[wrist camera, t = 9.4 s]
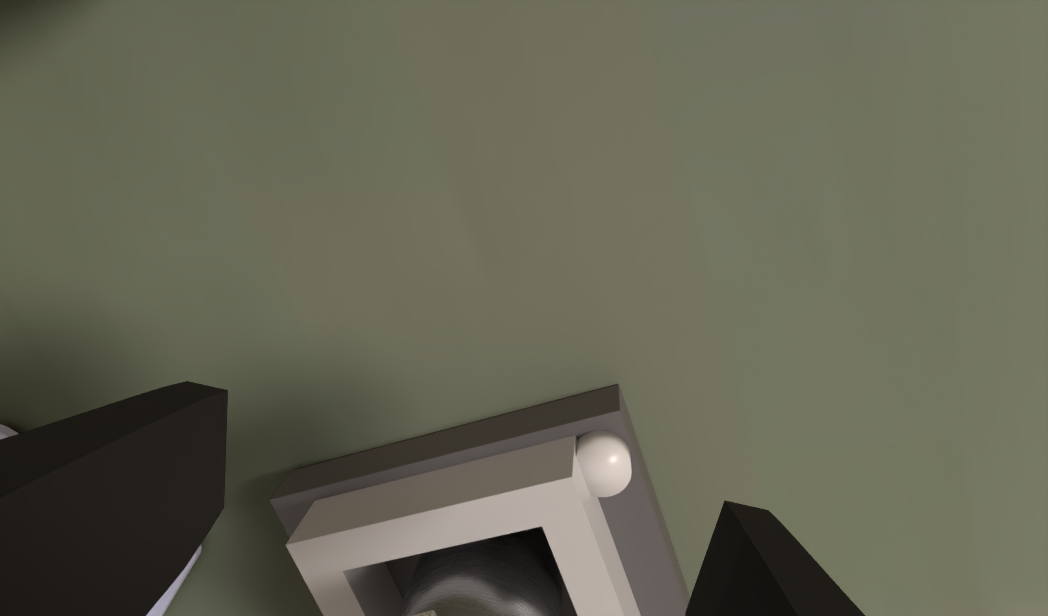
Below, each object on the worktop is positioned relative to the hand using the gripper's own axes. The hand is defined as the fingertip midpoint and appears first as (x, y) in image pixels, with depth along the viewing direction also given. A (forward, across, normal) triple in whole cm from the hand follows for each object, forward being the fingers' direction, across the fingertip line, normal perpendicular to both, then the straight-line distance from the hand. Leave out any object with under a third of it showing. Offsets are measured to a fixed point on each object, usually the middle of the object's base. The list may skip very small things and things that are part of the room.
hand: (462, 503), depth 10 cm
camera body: (+10, -1, +9) cm, 13 cm away
